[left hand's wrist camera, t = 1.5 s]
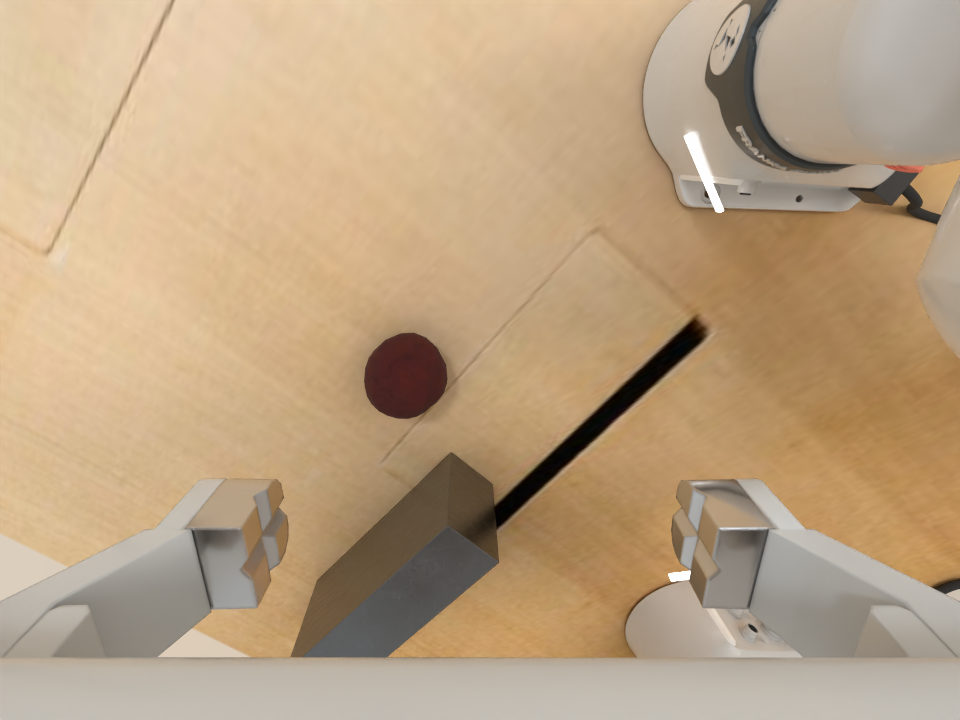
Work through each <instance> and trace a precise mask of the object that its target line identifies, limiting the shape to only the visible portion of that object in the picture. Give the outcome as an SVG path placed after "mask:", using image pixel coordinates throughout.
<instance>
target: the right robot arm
mask: <svg viewBox="0 0 960 720" xmlns="http://www.w3.org/2000/svg"><path fill="white" fill-rule="evenodd" d="M669 577H670V579H671V581H679V580H683V581H680V582H677V583H674V584H671V585H668V586H665V587H663V588H660V589H658V590H656V591H654V592H653V593H651V594H649V595H648V596H647V597H645V598H644V599H643V600H642V601H641V602H639V604H638V605H637V606H636V607H635V608H634V609H633V611H632V612H631V614H630V616H629V618H628V620H627V623H626V629H625V635H626V640H627V643H628V645H629V647H630V648H631V650H632V651H633V653H634V654H635V655H636V657H637V658H754V657H802V656H801V655H800V654H799V653H798V652H796V651H795V650H794V649H793V648H792V647H790V646H789V645H788V644H787V643H786V642H784V641H783V640H782V639H781V638H780V637H779V636H777V635H776V634H775V633H774V632H773V631H771V630H770V629H769V628H768V627H767V626H765V625H764V624H763V623H762V622H761V621H759V620H758V619H757V618H756V617H755V616H753V615H752V614H751V613H750V612H749V609H715V608H702V606H701V604H700V602H699V600H698V598H697V596H696V594H695V592H694V590H693V588H692V586H691V584H690V582H689V577H690V571H686V572H679V573H671V574H669ZM934 589H936V590H938V591H940V592H942V593H944V594H947V593H949V592H951V591H954V590H957V589H960V580H955V581H951V582H948V583H945V584H942V585H940V586H938V587H936V588H934Z"/></svg>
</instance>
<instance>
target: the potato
mask: <svg viewBox="0 0 960 720" xmlns="http://www.w3.org/2000/svg"><path fill="white" fill-rule="evenodd" d="M364 382H365V389H366V393H367V397H368V399H369V400H370V402H371V404H372V405H373V406H374V407H375V408H376V409H377V410H378V411H380V412H382V413H384V414H385V415H387V416H391V417H394V418H402V419H408V418H412V417H417V416H419V415H420V414H422V413H424V412H426V411H427V410H428V409H429V408H430V407H431V406H432V405H434V404H435V403H436V402H437V401H438V400H439V398H440V397H441V396H442V395H443V393H444V390H445V387H446V384H447V371H446V364H445V362H444V360H443V358H442V356H441V355H440V353H439V351H438V349H437V347H436V346H434V345H433V344H432V343H431V342H430V341H429V340H428V339H427V338H425V337H423V336H420V335H418V334H415V333H402V334H399V335H396V336H394V337H392V338H389V339H387V340H385V341H384V342H383V343H382V344H381V345H380V346H379V347H378V348H377V349H376V350H375V351H374V352H373V353H372V354H371V356H370V357H369V359H368V362H367V365H366V368H365V379H364Z"/></svg>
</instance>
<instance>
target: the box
mask: <svg viewBox="0 0 960 720" xmlns="http://www.w3.org/2000/svg"><path fill="white" fill-rule="evenodd" d="M498 563H499V556H498V544H497V532H496V520H495V508H494V496H493V484H492V483H490V482H489V481H488V480H486V479H485V478H484V477H483V476H481V475H480V474H479V473H477V472H476V471H475V470H474V469H472V468H471V467H470V466H468V465H467V464H466V463H464V462H463V461H462V460H461V459H459V458H458V457H457V456H455V455H454V454H453V453H450V454H449V455H448V456H447V457H446V458H445V459H444V460H443V461H442V462H441V463H440V464H439V465H437V466H436V467H435V468H434V469H433V470H432V471H431V472H430V473H429V474H428V475H427V476H426V477H425V478H424V479H423V480H422V481H421V482H420V483H419V484H418V485H417V486H416V487H414V488H413V489H412V490H411V491H410V492H409V493H408V494H407V495H406V496H405V497H404V498H403V499H402V500H401V501H400V502H399V503H398V504H397V505H396V506H395V507H394V508H393V509H391V510H390V511H389V512H388V513H387V514H386V515H385V516H384V517H383V518H382V519H381V520H380V521H379V522H378V523H377V524H376V525H375V526H374V527H373V528H372V529H371V530H370V531H369V532H367V533H366V534H365V535H364V536H363V537H362V538H361V539H360V540H359V541H358V542H357V543H356V544H355V545H354V546H353V547H352V548H351V549H350V550H349V551H348V552H347V553H346V554H344V555H343V556H342V557H341V558H340V559H339V560H338V561H337V562H336V563H335V564H334V565H333V566H332V567H331V568H330V569H329V570H328V571H327V572H326V573H325V574H324V575H323V576H321V577H320V578H319V579H318V580H317V583H316V586H315V588H314V591H313V594H312V597H311V600H310V603H309V606H308V609H307V611H306V614H305V617H304V620H303V623H302V626H301V629H300V632H299V634H298V637H297V640H296V643H295V646H294V649H293V652H292V655H291V657H388V656H389V655H390V654H391V653H392V652H394V651H395V650H396V649H397V648H398V647H399V646H401V645H402V644H403V643H404V642H405V641H407V640H408V639H409V638H410V637H411V636H412V635H414V634H415V633H416V632H417V631H418V630H420V629H421V628H422V627H423V626H424V625H426V624H427V623H428V622H429V621H430V620H431V619H433V618H434V617H435V616H436V615H437V614H439V613H440V612H441V611H442V610H443V609H444V608H446V607H447V606H448V605H449V604H450V603H452V602H453V601H454V600H455V599H456V598H457V597H459V596H460V595H461V594H462V593H463V592H465V591H466V590H467V589H468V588H469V587H471V586H472V585H473V584H474V583H475V582H476V581H478V580H479V579H480V578H481V577H482V576H484V575H485V574H486V573H487V572H488V571H489V570H491V569H492V568H493V567H494V566H495V565H497V564H498Z"/></svg>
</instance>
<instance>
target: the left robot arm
mask: <svg viewBox="0 0 960 720" xmlns="http://www.w3.org/2000/svg"><path fill="white" fill-rule="evenodd" d="M643 110H644V118H645V123H646V127H647V130H648V133H649V136H650V138H651V140H652V143H653V144H654V146H655V148H656V150H657V151H658V153H659V154H660V155H661V157H662V158H663V159H664V161H665V162H666V163H667V165H668V166H669V168H670V170H671V172H672V174H673V179H674V184H675V189H676V192H677V196H678V198H679V200H680V202H681V203H682V204H683V205H685V206H687V207H701V208H715V211H716V212H720V213H721V212H723V211H724V209H723V208H731V209H762V210H792V211H824V212H842V211H847V210H849V209H850V208H852V207H853V206H854V205H856V204H857V203H858V202H859V201H860V200H862V201H863V202H865V203H874V204H882V205H892V204H893V203H894V202H895V201H896V200H897V198H898V197H899V196H900V195H901V194H903V195H904V196H905V197H906V198H907V199H908V201H909V202H910V204H909V205H907V208H906V210H907V212H908V213H910V214H911V215H913V216H915V217H917V218H920V219H923V220H926V221H930V222H933V223H937V226H936V229H935V231H934V233H933V236H932V238H931V241H930V243H929V245H928V248H927V250H926V253H925V255H924V257H923V260H922V262H921V265H920V267H919V269H918V272H917V274H916V277H915V283H916V286H917V289H918V293H919V296H920V300H921V302H922V304H923V306H924V309H925V311H926V313H927V315H928V317H929V319H930V321H931V322H932V324H933V326H934V327H935V329H936V330H937V332H938V334H939V335H940V337H941V338H942V339H943V340H944V342H945V343H946V344H947V345H948V347H949V348H950V349H951V350H952V351H953V353H954V354H955V355H956V356H957V357H958V358H959V359H960V175H959V177H958V179H957V181H956V184H955V186H954V188H953V190H952V192H951V194H950V197H949V199H948V201H947V203H946V205H945V207H944V210H943V212H942V214H941V215H938V214H935V213H932V212H929V211H926V210H924V209H922V208H920V207H921V206H922V203H923V201H922V199H921V197H920V195H919V194H918V193H917V192H916V190H915V189H914V188H913V187H912V186H911V185H910V183H911V182H912V181H913V179H914V178H915V177H916V176H917V175H918V173H919V172H921V171H922V170H923V168H924V166H931V165H938V164H945V163H949V162H954V161H958V160H960V0H693V1H691V2H690V3H689V4H688V5H687V6H685V7H684V8H683V9H682V10H681V11H680V12H679V13H678V14H677V15H676V16H675V18H674V19H673V20H672V21H671V22H670V24H669V25H668V26H667V28H666V29H665V31H664V32H663V34H662V35H661V37H660V39H659V41H658V42H657V44H656V47H655V49H654V51H653V53H652V56H651V58H650V61H649V64H648V68H647V71H646V76H645V81H644V89H643ZM706 190H707V192H708V194H709V196H708V197H707V198H706V197H705V195H704V193H705V191H706ZM796 197H797V198H796ZM283 498H284V495H283V490H282V485H281V483H280V482H279V481H278V480H277V479H226V478H205V479H202V480H198V481H197V483H196V484H195V485H194V486H193V487H192V488H191V489H190V490H189V491H188V493H187V494H186V495H185V496H184V497H183V498H182V499H181V500H180V501H179V502H178V504H177V505H176V506H175V507H174V508H173V509H172V510H171V511H170V512H169V514H168V515H167V516H166V517H165V518H164V519H163V520H162V521H161V522H160V524H159V525H158V526H157V527H156V528H155V529H146V530H144V531H142V532H140V533H138V534H136V535H134V536H132V537H130V538H128V539H126V540H123V541H121V542H119V543H117V544H115V545H113V546H111V547H109V548H107V549H105V550H103V551H101V552H99V553H97V554H95V555H93V556H91V557H89V558H87V559H85V560H83V561H81V562H79V563H77V564H75V565H73V566H71V567H69V568H67V569H65V570H63V571H61V572H59V573H57V574H55V575H52V576H50V577H48V578H46V579H44V580H42V581H40V582H38V583H36V584H34V585H32V586H30V587H28V588H26V589H24V590H22V591H20V592H18V593H16V594H14V595H12V596H10V597H8V598H6V599H4V600H2V601H0V720H960V601H958V600H956V599H954V598H952V597H950V596H948V595H946V594H944V593H942V592H940V591H938V590H936V589H934V588H932V587H930V586H927V585H925V584H923V583H921V582H919V581H917V580H915V579H913V578H911V577H909V576H907V575H905V574H903V573H901V572H899V571H897V570H895V569H893V568H891V567H889V566H887V565H885V564H883V563H881V562H879V561H877V560H875V559H873V558H871V557H869V556H867V555H865V554H863V553H861V552H859V551H857V550H855V549H853V548H851V547H849V546H847V545H845V544H843V543H841V542H838V541H836V540H834V539H832V538H830V537H828V536H826V535H824V534H822V533H820V532H818V531H816V530H814V529H805V528H804V527H803V526H802V525H801V524H800V522H799V521H798V520H797V519H796V518H795V517H794V516H793V515H792V514H791V512H790V511H789V510H788V509H787V508H786V507H785V506H784V505H783V504H782V502H781V501H780V500H779V499H778V498H777V497H776V496H775V495H774V494H773V493H772V491H771V490H770V489H769V488H768V487H767V486H766V485H765V484H764V483H763V481H761V480H759V479H757V478H742V479H720V480H681V482H680V484H679V486H678V489H677V495H676V498H677V500H678V502H679V503H680V505H681V508H680V509H679V510H678V511H677V512H676V513H675V514H674V515H673V520H672V528H671V532H672V543H673V547H674V550H675V554H676V556H677V558H678V560H679V562H680V564H682V565H683V566H684V567H686V568H687V569H689V570H690V577H689V582H690V584H691V586H692V588H693V590H694V592H695V594H696V596H697V598H698V600H699V602H700V604H701V606H702V608H715V609H749V612H750V613H751V614H752V615H753V616H755V617H756V618H757V619H758V620H759V621H761V622H762V623H763V624H764V625H765V626H767V627H768V628H769V629H770V630H771V631H773V632H774V633H775V634H776V635H777V636H779V637H780V638H781V639H782V640H783V641H784V642H786V643H787V644H788V645H789V646H790V647H792V648H793V649H794V650H795V651H796V652H798V653H799V654H800V655H801V656H802V657H754V658H465V657H254V658H176V657H158V656H159V655H160V654H161V653H162V652H164V651H165V650H166V649H167V648H168V647H170V646H171V645H172V644H173V643H174V642H176V641H177V640H178V639H179V638H180V637H182V636H183V635H184V634H185V633H186V632H188V631H189V630H190V629H191V628H193V627H194V626H195V625H196V624H197V623H199V622H200V621H201V620H202V619H203V618H205V617H206V616H207V615H208V614H209V613H211V609H244V608H258V606H259V604H260V602H261V600H262V598H263V596H264V594H265V592H266V590H267V588H268V586H269V584H270V582H271V577H270V570H271V569H273V568H274V567H276V566H277V565H278V564H280V562H281V560H282V558H283V556H284V554H285V551H286V546H287V542H288V519H287V515H286V514H285V513H284V512H283V511H282V510H281V509H280V508H279V505H280V503H281V502H282V500H283Z"/></svg>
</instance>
